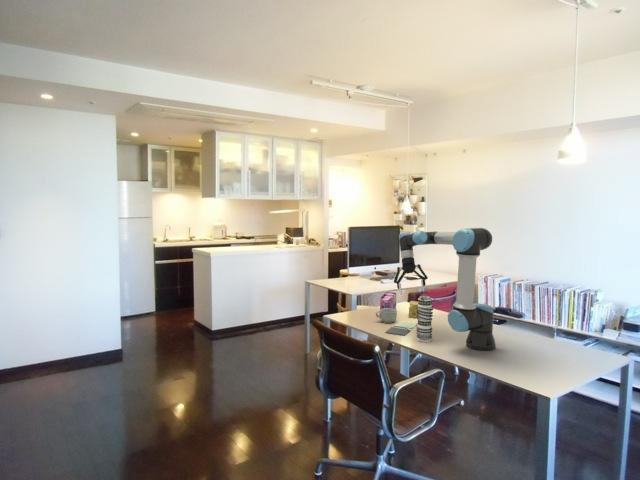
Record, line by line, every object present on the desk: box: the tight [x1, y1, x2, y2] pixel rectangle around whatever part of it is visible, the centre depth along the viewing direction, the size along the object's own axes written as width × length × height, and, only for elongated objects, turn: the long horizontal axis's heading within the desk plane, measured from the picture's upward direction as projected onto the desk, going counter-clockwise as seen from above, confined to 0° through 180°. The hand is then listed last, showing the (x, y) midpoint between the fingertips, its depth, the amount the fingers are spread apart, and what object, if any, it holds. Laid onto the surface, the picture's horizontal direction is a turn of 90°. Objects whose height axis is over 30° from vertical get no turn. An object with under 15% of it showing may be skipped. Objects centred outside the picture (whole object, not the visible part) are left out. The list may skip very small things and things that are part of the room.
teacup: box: [375, 308, 398, 324], centre depth 282 cm, size 14×11×8 cm
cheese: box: [407, 300, 418, 319], centre depth 296 cm, size 10×11×10 cm
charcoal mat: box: [384, 326, 411, 337], centre depth 260 cm, size 12×12×1 cm
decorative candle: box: [416, 295, 434, 343], centre depth 245 cm, size 9×9×25 cm
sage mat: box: [393, 320, 418, 330], centre depth 274 cm, size 12×12×1 cm
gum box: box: [379, 291, 397, 317], centre depth 302 cm, size 24×8×14 cm, turn 161°
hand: (412, 292), depth 256 cm, fingers open, 13 cm apart
